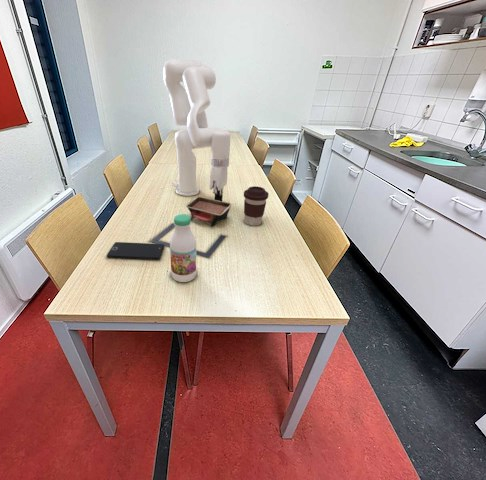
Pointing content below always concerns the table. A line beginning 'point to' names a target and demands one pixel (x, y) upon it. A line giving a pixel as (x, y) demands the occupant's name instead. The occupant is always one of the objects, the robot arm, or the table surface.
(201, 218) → the baking dish
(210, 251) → the tape outline
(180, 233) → the milk bottle
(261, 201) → the coffee cup
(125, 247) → the cell phone
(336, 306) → the table surface
